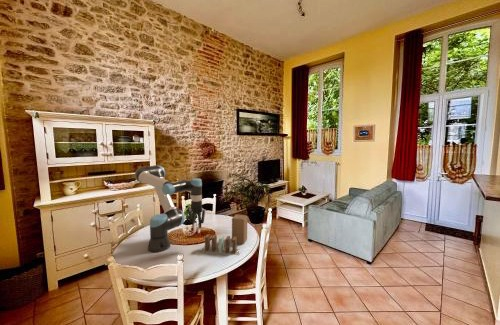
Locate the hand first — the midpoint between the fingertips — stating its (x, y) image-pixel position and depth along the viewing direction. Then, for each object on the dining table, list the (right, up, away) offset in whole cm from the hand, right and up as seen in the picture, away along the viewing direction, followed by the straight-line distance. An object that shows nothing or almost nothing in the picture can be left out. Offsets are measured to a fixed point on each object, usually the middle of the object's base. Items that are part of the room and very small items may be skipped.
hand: (196, 232), depth 153 cm
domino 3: (+23, -13, -2) cm, 26 cm away
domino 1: (+8, -12, 0) cm, 15 cm away
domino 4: (+27, -13, -3) cm, 31 cm away
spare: (+18, -13, -2) cm, 22 cm away
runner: (+18, -13, -2) cm, 22 cm away
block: (+30, -12, +13) cm, 35 cm away
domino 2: (+13, -13, -1) cm, 18 cm away
